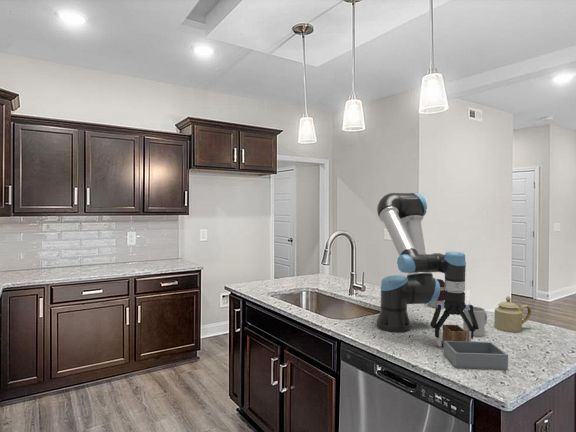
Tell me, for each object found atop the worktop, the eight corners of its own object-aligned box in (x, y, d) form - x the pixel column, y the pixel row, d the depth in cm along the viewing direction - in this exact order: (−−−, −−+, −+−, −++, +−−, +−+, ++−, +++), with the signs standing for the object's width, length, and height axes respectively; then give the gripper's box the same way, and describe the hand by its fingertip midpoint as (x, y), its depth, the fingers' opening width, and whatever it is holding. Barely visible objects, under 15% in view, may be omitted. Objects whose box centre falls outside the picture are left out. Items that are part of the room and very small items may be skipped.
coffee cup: (440, 309, 207) (441, 282, 206) (423, 306, 214) (424, 279, 214) (449, 306, 213) (449, 280, 213) (432, 303, 221) (432, 277, 220)
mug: (475, 337, 163) (475, 312, 162) (458, 331, 170) (459, 307, 170) (494, 334, 168) (494, 309, 168) (477, 328, 175) (477, 304, 175)
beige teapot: (508, 322, 185) (509, 291, 184) (532, 329, 175) (533, 296, 174) (488, 326, 178) (489, 294, 177) (512, 334, 168) (512, 300, 168)
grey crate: (455, 367, 132) (455, 353, 132) (443, 353, 145) (443, 340, 144) (507, 369, 131) (508, 354, 131) (491, 355, 143) (491, 342, 143)
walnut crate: (450, 350, 148) (450, 331, 148) (442, 342, 157) (442, 324, 157) (466, 351, 148) (466, 332, 147) (457, 343, 157) (457, 324, 156)
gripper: (427, 292, 149) (426, 348, 149) (489, 293, 147) (488, 350, 148) (422, 288, 156) (421, 341, 157) (480, 289, 155) (479, 343, 155)
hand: (453, 346), depth 152 cm, fingers open, 11 cm apart
